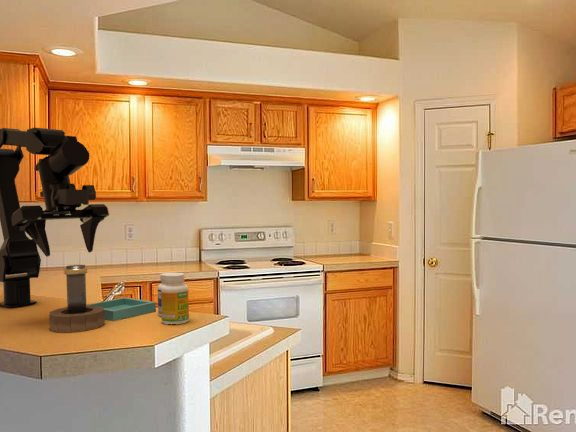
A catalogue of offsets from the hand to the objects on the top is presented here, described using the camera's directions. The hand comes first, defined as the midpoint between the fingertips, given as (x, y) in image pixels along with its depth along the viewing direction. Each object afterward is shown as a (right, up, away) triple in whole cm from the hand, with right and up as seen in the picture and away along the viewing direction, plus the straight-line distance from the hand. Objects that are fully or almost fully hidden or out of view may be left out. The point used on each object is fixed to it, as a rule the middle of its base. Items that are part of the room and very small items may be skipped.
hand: (70, 253), depth 109 cm
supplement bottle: (+23, -14, -3) cm, 27 cm away
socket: (+4, -14, -5) cm, 15 cm away
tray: (+8, -13, +6) cm, 17 cm away
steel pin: (+4, -14, -5) cm, 15 cm away
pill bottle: (+20, -14, +4) cm, 25 cm away
